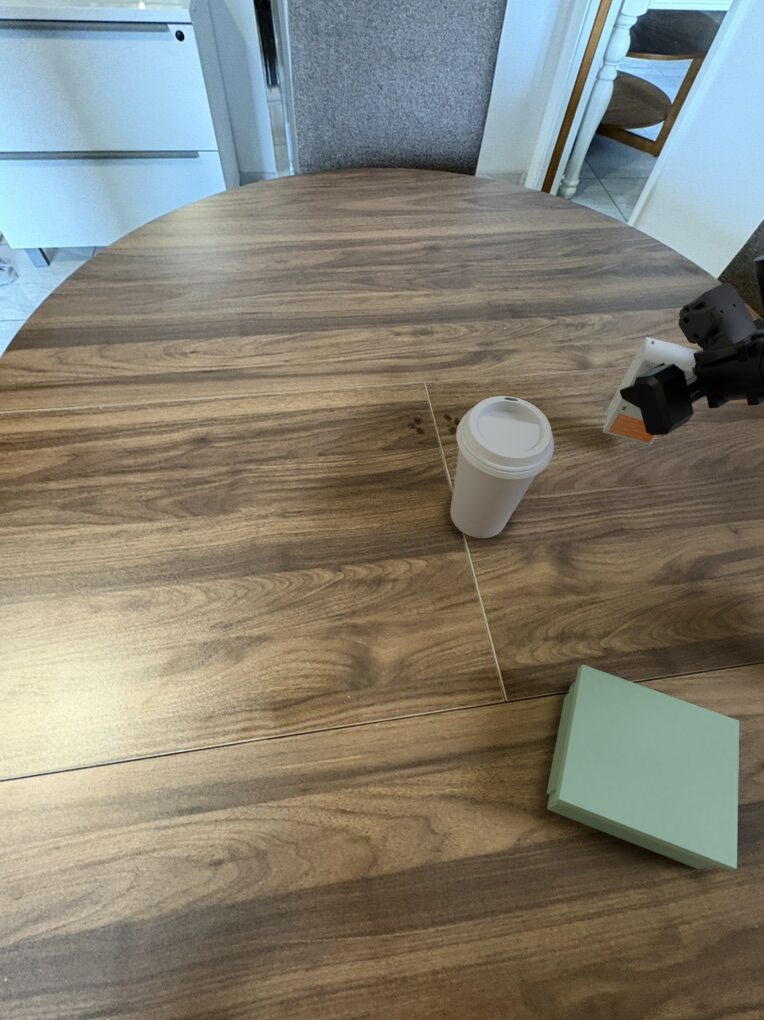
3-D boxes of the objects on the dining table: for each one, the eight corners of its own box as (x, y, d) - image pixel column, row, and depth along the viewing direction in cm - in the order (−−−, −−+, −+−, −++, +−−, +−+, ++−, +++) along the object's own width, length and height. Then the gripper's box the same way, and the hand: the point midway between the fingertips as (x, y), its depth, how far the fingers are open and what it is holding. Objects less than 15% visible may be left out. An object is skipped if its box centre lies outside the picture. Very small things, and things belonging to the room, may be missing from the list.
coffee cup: (532, 504, 72) (574, 416, 59) (498, 564, 67) (537, 481, 54) (459, 469, 74) (485, 376, 62) (422, 524, 69) (442, 435, 57)
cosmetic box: (601, 434, 75) (642, 358, 66) (605, 411, 78) (645, 334, 68) (651, 448, 75) (699, 373, 65) (653, 424, 77) (700, 349, 67)
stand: (710, 735, 58) (739, 720, 54) (704, 874, 51) (737, 869, 47) (564, 682, 60) (582, 664, 56) (540, 809, 53) (558, 799, 49)
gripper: (819, 252, 59) (676, 290, 73) (697, 313, 52) (565, 342, 66) (837, 363, 62) (697, 379, 76) (724, 435, 55) (592, 438, 69)
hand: (641, 383), depth 71 cm, fingers closed on cosmetic box, 6 cm apart
